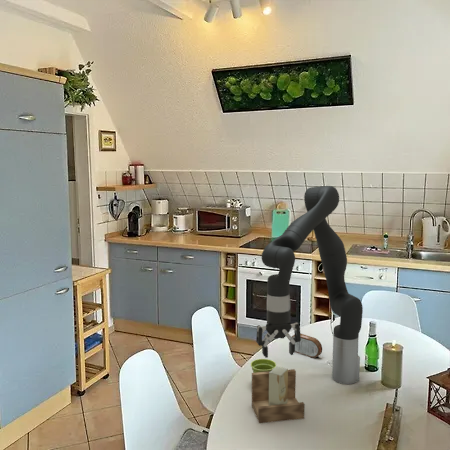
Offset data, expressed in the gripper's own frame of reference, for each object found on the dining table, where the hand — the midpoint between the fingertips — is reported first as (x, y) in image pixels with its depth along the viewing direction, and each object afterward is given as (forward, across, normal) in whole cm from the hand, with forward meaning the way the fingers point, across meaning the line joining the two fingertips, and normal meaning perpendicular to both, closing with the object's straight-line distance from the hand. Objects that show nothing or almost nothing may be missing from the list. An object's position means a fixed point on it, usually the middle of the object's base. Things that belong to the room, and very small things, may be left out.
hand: (278, 355), depth 151 cm
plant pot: (+20, 0, -18) cm, 27 cm away
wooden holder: (+20, 0, 0) cm, 20 cm away
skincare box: (+18, 0, 0) cm, 18 cm away
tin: (+21, -25, -42) cm, 53 cm away
